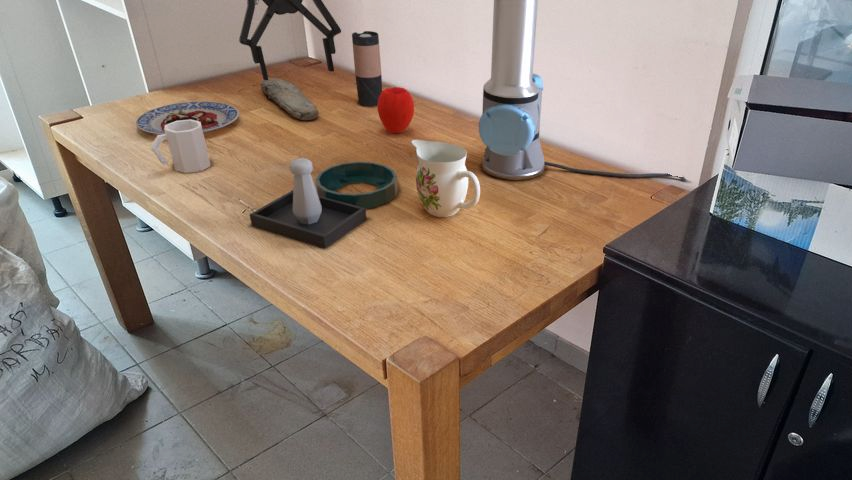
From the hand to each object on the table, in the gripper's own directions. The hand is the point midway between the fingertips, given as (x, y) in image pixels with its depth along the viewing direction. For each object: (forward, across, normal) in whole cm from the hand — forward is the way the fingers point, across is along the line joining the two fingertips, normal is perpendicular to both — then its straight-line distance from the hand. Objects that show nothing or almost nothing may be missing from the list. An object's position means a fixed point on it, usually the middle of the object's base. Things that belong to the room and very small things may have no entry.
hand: (299, 75), depth 137 cm
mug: (+20, +27, -23) cm, 41 cm away
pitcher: (+29, -22, +20) cm, 42 cm away
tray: (+27, +6, +15) cm, 31 cm away
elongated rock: (+14, -4, -60) cm, 62 cm away
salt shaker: (+27, +6, +15) cm, 31 cm away
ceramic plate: (+15, +24, -52) cm, 59 cm away
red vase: (+21, -27, -28) cm, 44 cm away
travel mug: (+17, -27, -53) cm, 61 cm away
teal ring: (+26, -7, +4) cm, 27 cm away
